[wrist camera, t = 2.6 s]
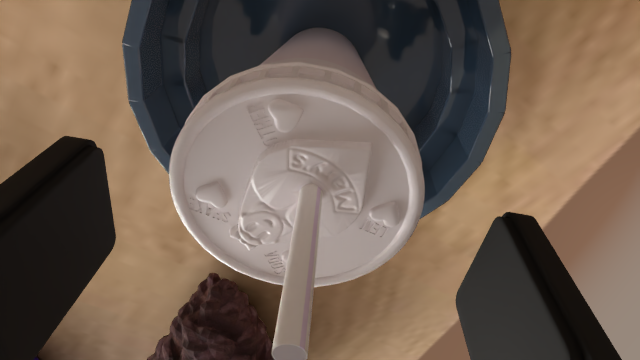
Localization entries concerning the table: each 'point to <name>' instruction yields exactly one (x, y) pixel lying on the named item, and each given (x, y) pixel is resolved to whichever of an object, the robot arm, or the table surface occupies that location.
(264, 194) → the smoothie
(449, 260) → the table surface
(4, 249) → the robot arm
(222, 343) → the pine cone
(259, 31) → the dish
